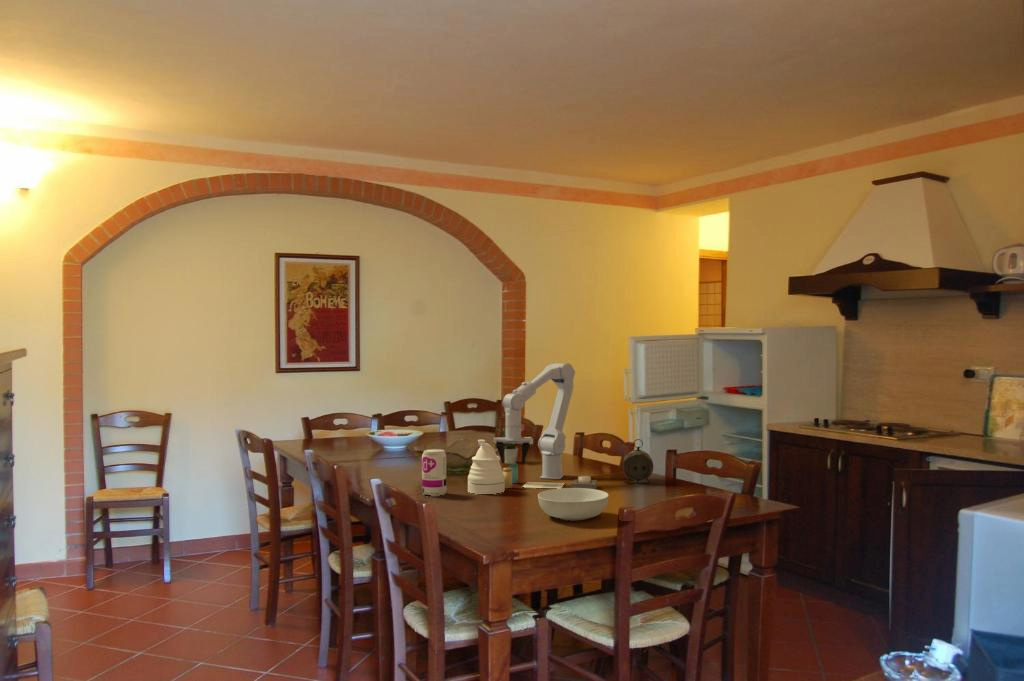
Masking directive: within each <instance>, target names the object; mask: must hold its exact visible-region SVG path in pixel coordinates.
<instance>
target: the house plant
mask: <svg viewBox="0 0 1024 681" xmlns="http://www.w3.org/2000/svg"><path fill="white" fill-rule="evenodd" d="M523 430H524V428H521V432H522V431H523ZM497 431H499V432H495V433H498V434H499V436H501V437H506V427H504V426H503V428H502V430H500V429H499V428H497ZM508 442H518V441H508ZM516 445H518V444H517V443H505V462H504V463H503V464H510V463H517V460H518V459H517V458H518V453H519V448H518V447H517V446H516Z"/></svg>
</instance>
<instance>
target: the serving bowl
mask: <svg viewBox="0 0 1024 681" xmlns="http://www.w3.org/2000/svg"><path fill="white" fill-rule="evenodd" d="M609 498H610V496H609V493H608V492H606V491H604V490H600V489H596V490H595V489H587V488H572V487H562V488H561V489H546V490H544V491H541V492H539V493H538V494H537V499H538V503H539V504H538V505H539V506H540V508H541V509H542V511H543V512H544V513H546V515H549V516H551V517H553V518H556V519H559V518H560V519H559V520H562V519H563V521H568V520H570V521H571V522H572V521H573V522H575V521H576V522H577V521H578V520H579V521H585V520H588V519H590V518H594V517H596V516H598V515H600V514H601V513H603V512H604V511H605V510H606V508H607V507H608V503H609ZM570 521H569V522H570Z"/></svg>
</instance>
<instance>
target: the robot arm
mask: <svg viewBox="0 0 1024 681" xmlns="http://www.w3.org/2000/svg"><path fill="white" fill-rule="evenodd" d="M575 376H576V371H575V369H574V367H573V365H572V364H571V363H568V362H565V363H559V362H558V363H555V362H551V363H549V364H548V365H546V366H545V367H544V369H543V370H542V371H541V372H540V373H539V374H538V375H537V376H535V378H533V379H532V380H531V381H530V382H529V381H523V382H521V384H520V386H519V387H517V388H516V389H514V390H512V393H507V394H505V396H504V397H503V399H502V401H501V404H502V406H503V408H504V412H505V429H506V435H505V436H506V437H504V436H503V437H502V436H501V437H498V436H497V437H493V444H496V445H495V447H496V449H497V452H498V454H499V457H500V462H501V464H505V463H504V462H505V443H515V444H516V443H517V444H516V445H518V444H520V445H521V454H522V455H521V464H522V465H524V464H525V463H526V459H527V456H528V455H527V454H528V452H529V449H530V447H531V445H534V438H531V437H529V438H528V437H522V431H521V430H522V409H523V408H524V407H525V403H526V402H527V401H528V400H529V399H531V398H532V397H533V396H535V395H536V393H537V390H538V389H539V388H540V387H542V386H543V385H544V384H546V383H548V382H549V381H552V382H553V383H554V384H555V386H556V387H557V389H558V390H557V393H556V397H555V401H554V404H553V409H552V413H551V417H550V420H549V424H548V427H547V428H546V429H545V430H544V431H542V435H541V436H540V437H539V439H538V442H537V446H538V449H539V451H541V452H540V453H541V454H542V461H541V462H542V464H541V465H542V470H541V472H542V474H541V476H540V477H539V478H540V479H547V480H548V479H551V480H552V479H553V480H554V479H555V480H562V478H563V477H564V476H565V474H564V473H563V472H562V470H563V469H562V468H563V467H562V464H563V463H562V455H563V453H564V451H565V449H566V437H567V436H566V434H565V433H564V432H563V430H564V429H563V428H564V425H565V422H566V417H567V413H568V412H569V411H568V410H569V406H570V403H571V399H572V395H573V390H574V379H575ZM508 441H518V442H508Z"/></svg>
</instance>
